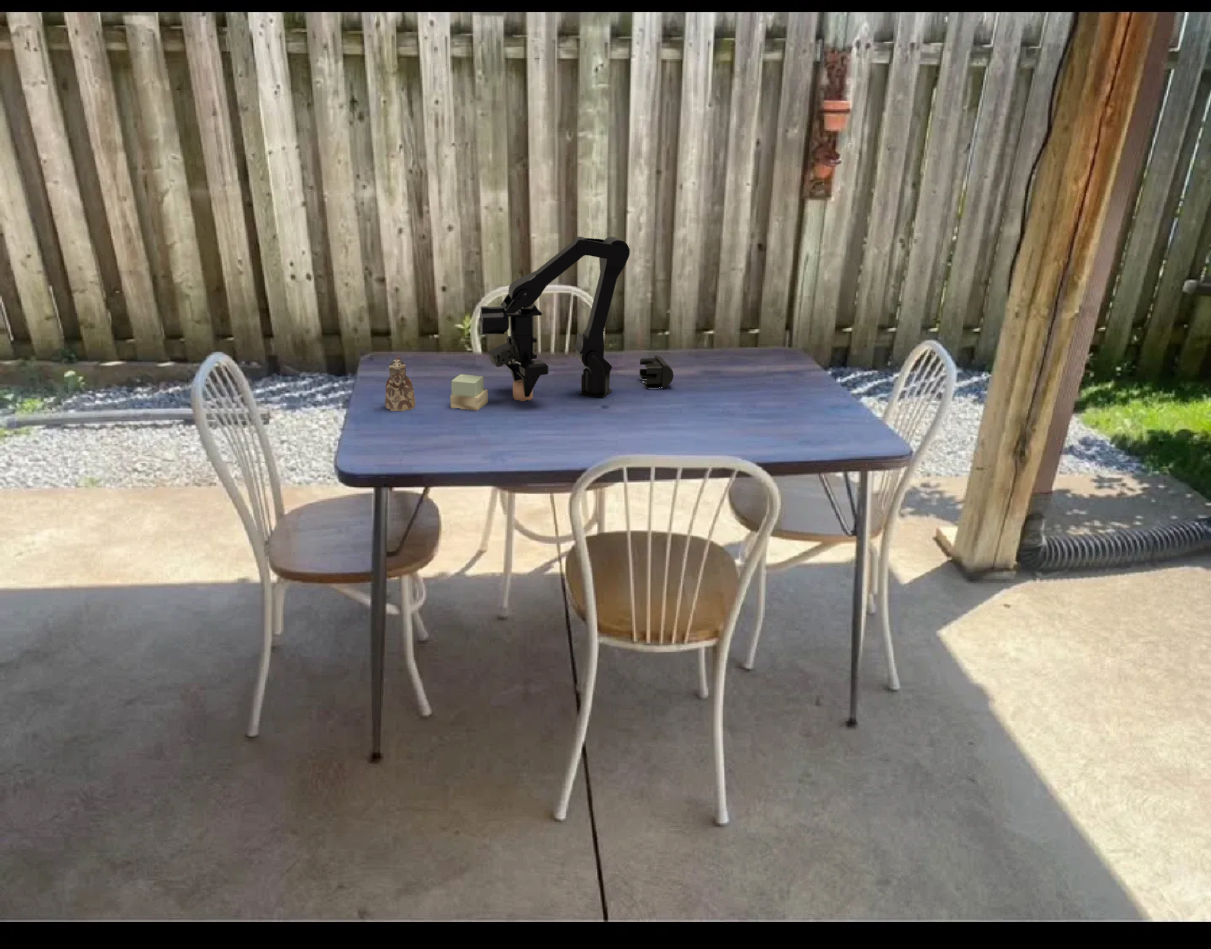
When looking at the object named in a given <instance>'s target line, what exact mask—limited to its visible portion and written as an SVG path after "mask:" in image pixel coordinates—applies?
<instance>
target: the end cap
mask: <svg viewBox="0 0 1211 949" xmlns="http://www.w3.org/2000/svg"><path fill="white" fill-rule="evenodd" d="M639 365H640V366H642V365H643V366H645V368H640V369H639V378H642V379H647V380H642V379H641V381H644V382H645V383H643V384H644V385H645V387H646V388H659V387H660V388H661V387H665V388H666V387H668V386H670V385H671V383H672V381H673V379H674V371H673V369H672V367H671V366H669V364H668V363H667V362H666V361H665V360H664V358H663V357H661V356H660V355H657V354H656V355H655V354H654V356H653V357H650V358H649V357H646V358H645V357H644V358H639ZM641 381H640V382H641ZM643 384H642V385H643ZM644 385H643V386H644ZM645 387H644V388H645ZM646 388H645V389H646Z"/></svg>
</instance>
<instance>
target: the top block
mask: <svg viewBox="0 0 1211 949" xmlns="http://www.w3.org/2000/svg"><path fill="white" fill-rule="evenodd" d="M450 382H451V384H450V385H451V395H457V396H467V397H476V396H477V395H479V394H480V393H481V392H482V391H483V390H484V389H485V388H484V376H481V375H473V374H472V375H471V374H461V373H460V374H459V375H458V376H457V375H456V377H455V378H453V379H452V380H451V381H450Z"/></svg>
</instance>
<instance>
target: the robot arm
mask: <svg viewBox="0 0 1211 949" xmlns="http://www.w3.org/2000/svg"><path fill="white" fill-rule="evenodd" d="M630 253H631V249H630V246H629V245H628V243H626V241H624V240H622V239H620V238H618V237H616V236H609V237H606V238H604V239H602V238H593V237H592V238H591V237H588V238H587V237H584V236H576V237H575V238H574V239H573V240H572V241H571V242H570V243H569V244H567V245H566V246H565V247H563V249H561V250H560V251H559V252H558V253H557V254H555V255H554V256H552V257H551V258H550V259H549V260H548V261H547V262H545V263H544V264H543V265H541V266H540V267H539V268H538V269H536V270H535V271H533V272H530V273H528V274H526V275H524V276H522V277H520V278H518V279H516V280H514V281H512V283H510V284H509V287H508V292H507V293H508V294H506V296H505V297H504V299H503V300H502V302H501V303H500V305H499V306H487V305H484V306H483V305H482V306H480V312H479V318H478V325H479V333H480V335H481V336H488V335H489V336H490V335H491V336H493V335H505V333H506V332H508V330H509V329H510V335H508V336H507V337H506V342H505V343H503V344H500V345H497V346H495V347H494V348H491V349H489V350H488V351H487V354H488V356H489V359H490V363H491V364H492V365H494V366H495V367H497V368H500V367H502V366H504V365H505V366H506V367H507V368H508V369H509V371H510V373H511V376H512V379H513V382H514V381H516V380H522V382H523V389H524V395H525V397H529V396H530V394H531V392H532V390H533V391H534V388H535V385H536V384H537V382H538V380H539V378H540V377H541V376H544V375H546V376H547V375H548V374H549V365H548V364H546V363H545V362H544V361H542V359H538V355H537V354H536V353H535V343H537V342H538V338H537V337H535V327H534V326H535V324H534V323H535V317H538V316H540V317H541V316H543V313H542V311H540V309H538V307H537V306H536V305H535V304H534V303H535V302H536V301H537V300H538V299H539V298H540V297H541V295H542V294H543V293H544V290H545V289H546V288H547V287H548V286H549V285H550V284H551V283H552V282H553V281H555V280H556V279H557V278H558V277H559V276H560V275H562V274H563V273H564V272H566V271H567V270H568V269H569V268H570V267H572V266H573V265H575V263H576V262H578V261H579V260H580V259H582V258H583V257H584V256H589V257H593V258H594V257H595V258H598V259H599V270H600V271H599V276H598V281H597V285H596V288H595V293H594V297H593V301H592V304H591V305H592V306H591V309H590V313H589V317H588V320H587V325H586V328H585V330H584V331H583V332H582V333H580V332H577V334H576V340H575V341H576V342H575V343H574V345H573V348H574V349H575V355H576V357H577V359H578V360H579V361H580V362H581V363H582V365H583V366H584V367H585V368H584V369H582V374H581V380H580V390H581V391H580V392H579V394H580V395H583V396H590V397H594V398H595V397H596V398H604V397H606V396H607V395H609V394H610V393H612V391H613V389H612V388H610V386H611V385H610V382H611V380H610V379H611V371H612V368H613V366H612V365H611V364H610V362H608V361H607V359H605V358H604V355H605V337H604V333H605V329H606V324H607V322H608V321H607V320H608V316H609V313H610V309H611V306H612V300H613V297H614V294H615V289H616V285H617V281H618V278H619V276H620V275H621V273H622V272H623V270H624V269H625V267H626V265H627V262H628V260H629V257H630V255H631V254H630Z"/></svg>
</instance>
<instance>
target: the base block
mask: <svg viewBox="0 0 1211 949" xmlns="http://www.w3.org/2000/svg"><path fill="white" fill-rule="evenodd" d="M488 394H489V392H488V389H485V388H484V390H483V391H482V392H481V393H480V394H479V395H477V396H476V397H467V396H457V395H452V394H450V409H455V408H460V409H459V410H465V409H466V410H468V411H476V412H477V411H480V410H481V409H482V408H483V407H484V406H486V404H488V402H489V395H488ZM480 408H481V409H480ZM479 409H480V410H479Z"/></svg>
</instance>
